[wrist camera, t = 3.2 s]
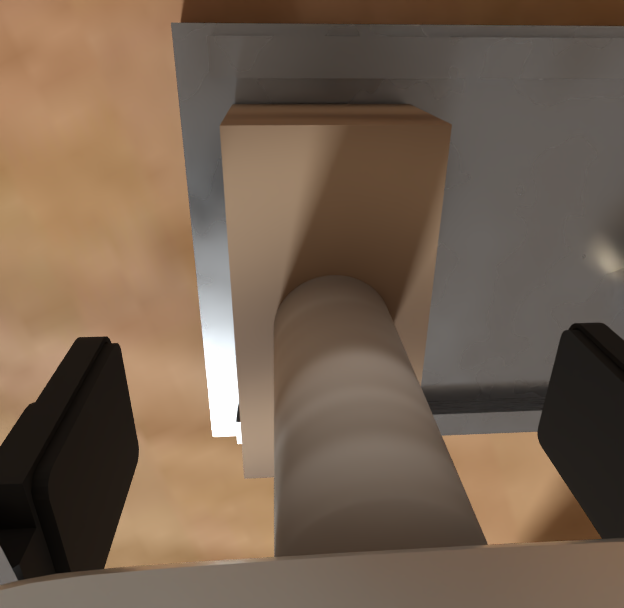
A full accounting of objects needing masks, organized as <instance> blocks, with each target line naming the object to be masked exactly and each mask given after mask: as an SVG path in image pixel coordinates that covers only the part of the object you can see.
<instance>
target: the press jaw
mask: <svg viewBox="0 0 624 608" xmlns="http://www.w3.org/2000/svg"><path fill="white" fill-rule="evenodd" d="M451 129H452V124H450V123H448V122H446V121H444V120H442V119H439V118H437V117H435V116H433V115H431V114H429V113H427V112H425V111H423V110H421V109H419V108H417V107H415V106H413V105H411V104H232V106H231V107H230V109H229V111H228V112H227V114H226V116H225V117H224V119H223V121H222V122H221V124H220V139H221V153H222V167H223V182H224V196H225V210H226V224H227V239H228V253H229V267H230V282H231V296H232V310H233V324H234V339H235V353H236V367H237V382H238V396H239V410H240V424H241V439H242V453H243V467H244V479H245V478H267V477H274V557H282V556H298V555H315V554H331V553H348V552H366V551H383V550H401V549H419V548H437V547H455V546H474V545H488V544H487V541H486V539H485V537H484V534H483V532H482V530H481V527H480V525H479V523H478V520H477V518H476V515H475V513H474V511H473V508H472V506H471V504H470V501H469V499H468V497H467V494H466V492H465V490H464V487H463V485H462V483H461V480H460V478H459V475H458V473H457V471H456V468H455V466H454V464H453V461H452V459H451V457H450V454H449V452H448V450H447V447H446V445H445V443H444V440H443V438H442V435H441V433H440V431H439V428H438V426H437V424H436V421H435V419H434V417H433V414H432V412H431V410H430V407H429V405H428V403H427V400H426V398H425V395H424V393H423V391H422V388H421V381H422V373H423V365H424V356H425V348H426V339H427V331H428V323H429V314H430V306H431V297H432V289H433V280H434V272H435V264H436V255H437V247H438V238H439V230H440V222H441V213H442V205H443V196H444V188H445V179H446V171H447V163H448V154H449V146H450V137H451Z"/></svg>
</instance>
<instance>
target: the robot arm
mask: <svg viewBox="0 0 624 608" xmlns="http://www.w3.org/2000/svg"><path fill="white" fill-rule="evenodd" d="M538 439H539V443H540V445H541V447H542V448H543V450H544V451H545V453H546V454H547V456H548V457H549V459H550V460H551V462H552V463H553V465H554V466H555V468H556V469H557V471H558V472H559V474H560V475H561V477H562V478H563V480H564V481H565V483H566V484H567V486H568V488H569V489H570V491H571V492H572V494H573V495H574V497H575V498H576V500H577V501H578V503H579V504H580V506H581V507H582V509H583V510H584V512H585V513H586V515H587V516H588V518H589V519H590V521H591V522H592V524H593V525H594V527H595V528H596V530H597V531H598V533H599V535H600V536H601V538H602V539H592V540H571V541H551V542H531V543H511V544H492V545H474V546H455V547H437V548H419V549H401V550H383V551H366V552H348V553H331V554H315V555H298V556H282V557H266V558H249V559H233V560H217V561H200V562H186V563H171V564H156V565H141V566H129V567H119V568H109V569H104V567H105V564H106V560H107V557H108V554H109V551H110V548H111V545H112V541H113V538H114V535H115V532H116V529H117V526H118V523H119V519H120V516H121V513H122V510H123V507H124V504H125V500H126V497H127V494H128V491H129V488H130V485H131V481H132V478H133V475H134V472H135V469H136V466H137V462H138V456H139V446H138V440H137V435H136V429H135V424H134V418H133V413H132V407H131V402H130V396H129V391H128V385H127V380H126V375H125V369H124V364H123V358H122V353H121V348H120V346H119V344H118V343H111V341H110V339H109V338H108V337H79V338H77V339H76V340H75V342H74V343H73V345H72V346H71V348H70V350H69V351H68V353H67V354H66V356H65V357H64V359H63V360H62V362H61V363H60V365H59V367H58V368H57V370H56V371H55V373H54V374H53V376H52V377H51V379H50V380H49V382H48V383H47V385H46V387H45V388H44V390H43V391H42V393H41V394H40V396H39V397H38V399H37V400H36V402H34V403H32V404H29V406H28V407H27V408H26V409H25V410H24V412H23V413H22V415H21V416H20V418H19V419H18V421H17V422H16V424H15V425H14V427H13V428H12V430H11V431H10V433H9V434H8V436H7V437H6V439H5V440H4V442H3V443H2V445H1V446H0V608H624V340H623V339H622V338H621V337H620V336H618V335H617V334H616V333H615V332H614V331H613V330H611V329H610V328H609V327H608V326H607V325H605V324H604V323H600V322H596V323H574V324H572V325H571V326H570V327H569V329H568V330H565V331H563V333H562V335H561V337H560V341H559V345H558V349H557V353H556V357H555V361H554V365H553V369H552V373H551V377H550V381H549V385H548V389H547V393H546V397H545V401H544V405H543V409H542V413H541V417H540V421H539V425H538Z"/></svg>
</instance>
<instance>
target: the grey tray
mask: <svg viewBox="0 0 624 608" xmlns="http://www.w3.org/2000/svg"><path fill="white" fill-rule="evenodd" d="M171 28H172V37H173V47H174V57H175V67H176V77H177V87H178V97H179V107H180V117H181V127H182V136H183V146H184V156H185V166H186V176H187V186H188V196H189V206H190V216H191V226H192V235H193V245H194V255H195V265H196V275H197V285H198V295H199V305H200V315H201V324H202V334H203V344H204V354H205V364H206V374H207V384H208V394H209V404H210V414H211V423H212V433H213V437H220V436H237V444H242V439H241V424H240V410H239V396H238V382H237V367H236V353H235V339H234V324H233V310H232V296H231V282H230V267H229V253H228V239H227V224H226V210H225V196H224V182H223V167H222V153H221V139H220V124H221V122H222V121H223V119H224V117H225V116H226V114H227V112H228V111H229V109H230V107H231V106H232V104H411V105H413V106H415V107H417V108H419V109H421V110H423V111H425V112H427V113H429V114H431V115H433V116H435V117H437V118H439V119H442V120H444V121H446V122H448V123H450V124H452V129H451V137H450V146H449V154H448V163H447V171H446V179H445V188H444V196H443V205H442V213H441V222H440V230H439V238H438V247H437V255H436V264H435V272H434V280H433V289H432V297H431V306H430V314H429V323H428V331H427V339H426V348H425V356H424V365H423V373H422V381H421V388H422V391H423V393H424V395H425V398H426V400H427V403H428V405H429V407H430V410H431V412H432V414H433V417H434V419H435V421H436V424H437V426H438V428H439V431H440V433H441V435H466V434H490V433H514V432H538V425H539V421H540V417H541V413H542V409H543V405H544V401H545V397H546V393H547V389H548V385H549V381H550V377H551V373H552V369H553V365H554V361H555V357H556V353H557V349H558V345H559V341H560V337H561V335H562V333H563V331H565V330H568V329H569V327H570V326H571V325H572V324H574V323H596V322H600V323H604V324H605V325H607V326H608V327H609V328H610V329H611V330H613V331H614V332H615V333H616V334H617V335H618V336H620V337H621V338H622V339H623V340H624V26H534V25H402V24H271V23H171Z"/></svg>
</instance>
